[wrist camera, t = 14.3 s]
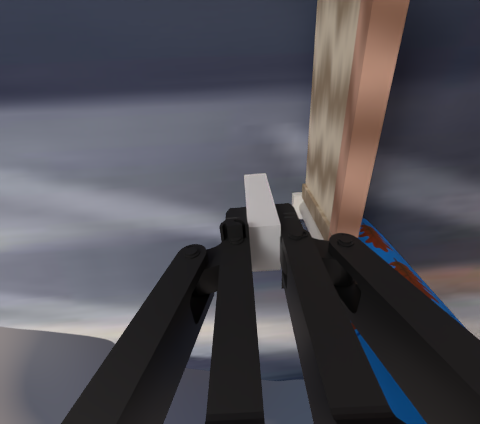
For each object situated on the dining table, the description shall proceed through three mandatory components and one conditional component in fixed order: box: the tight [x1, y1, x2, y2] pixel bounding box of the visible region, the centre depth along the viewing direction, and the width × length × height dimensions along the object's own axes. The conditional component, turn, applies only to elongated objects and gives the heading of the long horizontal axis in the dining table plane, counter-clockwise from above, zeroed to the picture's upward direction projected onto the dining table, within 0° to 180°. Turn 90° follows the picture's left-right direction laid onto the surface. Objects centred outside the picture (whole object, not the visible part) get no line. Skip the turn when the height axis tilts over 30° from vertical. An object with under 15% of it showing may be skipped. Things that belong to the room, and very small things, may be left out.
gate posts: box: [292, 192, 324, 240], centre depth 21 cm, size 32×4×16 cm, turn 5°
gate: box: [302, 0, 410, 241], centre depth 21 cm, size 24×2×12 cm, turn 5°
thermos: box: [351, 217, 465, 424], centre depth 28 cm, size 11×11×25 cm
